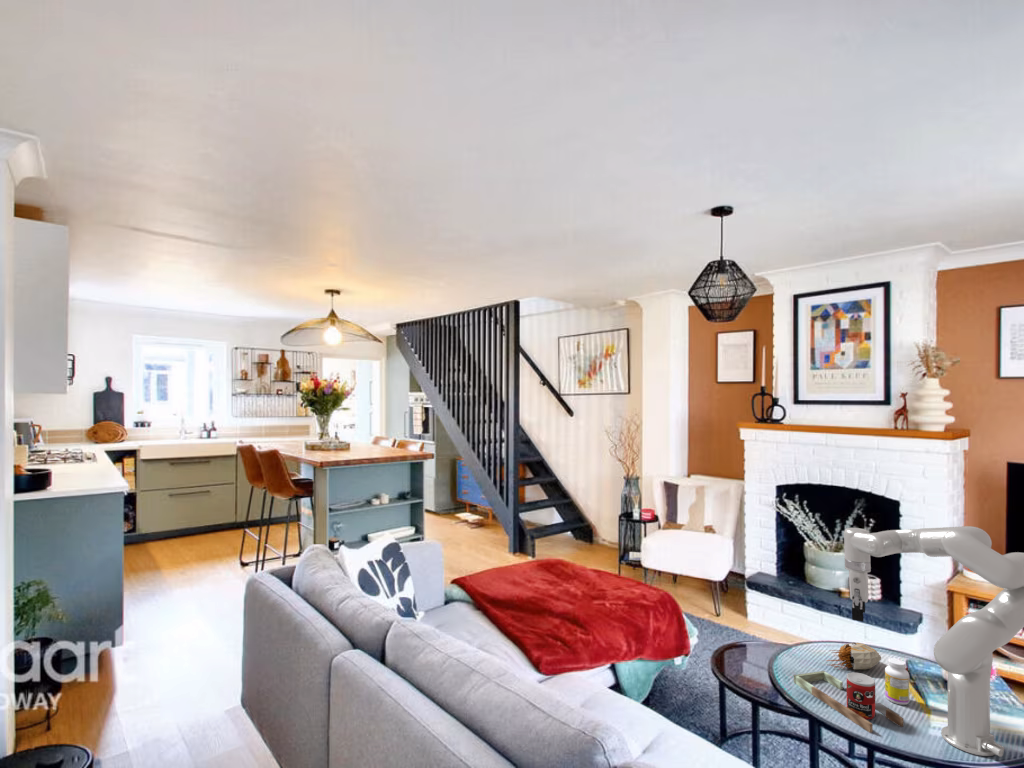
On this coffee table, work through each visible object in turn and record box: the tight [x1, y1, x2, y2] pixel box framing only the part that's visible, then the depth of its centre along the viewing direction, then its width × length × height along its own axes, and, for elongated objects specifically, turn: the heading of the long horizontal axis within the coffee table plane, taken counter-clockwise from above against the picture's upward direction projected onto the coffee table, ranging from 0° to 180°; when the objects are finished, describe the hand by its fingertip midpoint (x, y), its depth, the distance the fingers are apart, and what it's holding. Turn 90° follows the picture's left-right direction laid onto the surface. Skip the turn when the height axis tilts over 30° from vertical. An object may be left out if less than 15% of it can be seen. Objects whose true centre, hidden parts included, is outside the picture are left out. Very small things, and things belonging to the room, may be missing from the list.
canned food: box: [846, 672, 876, 721], centre depth 175 cm, size 8×8×11 cm
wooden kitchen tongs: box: [793, 670, 905, 734], centre depth 181 cm, size 30×18×2 cm, turn 15°
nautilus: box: [825, 641, 882, 670], centre depth 207 cm, size 8×22×15 cm
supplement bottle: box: [884, 657, 910, 706], centre depth 183 cm, size 7×7×13 cm
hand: (858, 615), depth 188 cm, fingers open, 9 cm apart
